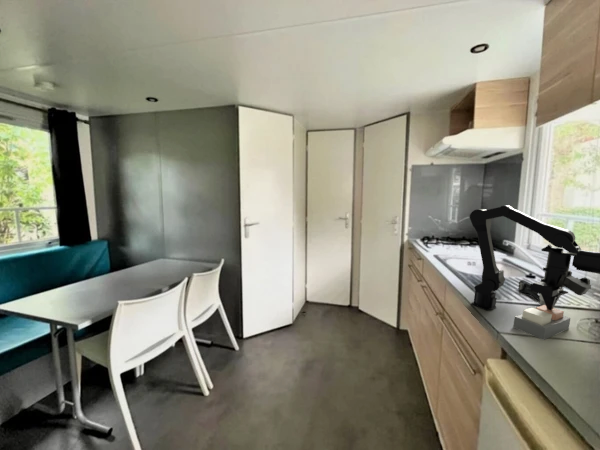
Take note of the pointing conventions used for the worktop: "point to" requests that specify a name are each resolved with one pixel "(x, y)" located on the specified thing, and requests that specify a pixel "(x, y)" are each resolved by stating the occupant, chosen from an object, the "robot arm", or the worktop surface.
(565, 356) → the worktop surface
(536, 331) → the keypad
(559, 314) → the terracotta key
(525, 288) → the can opener
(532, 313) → the cream key
